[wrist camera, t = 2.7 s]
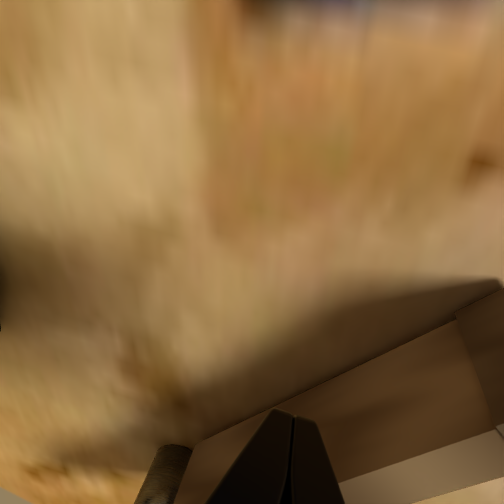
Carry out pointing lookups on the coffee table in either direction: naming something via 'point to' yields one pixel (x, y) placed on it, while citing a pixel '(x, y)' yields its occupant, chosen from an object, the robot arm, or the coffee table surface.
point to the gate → (397, 417)
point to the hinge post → (164, 475)
